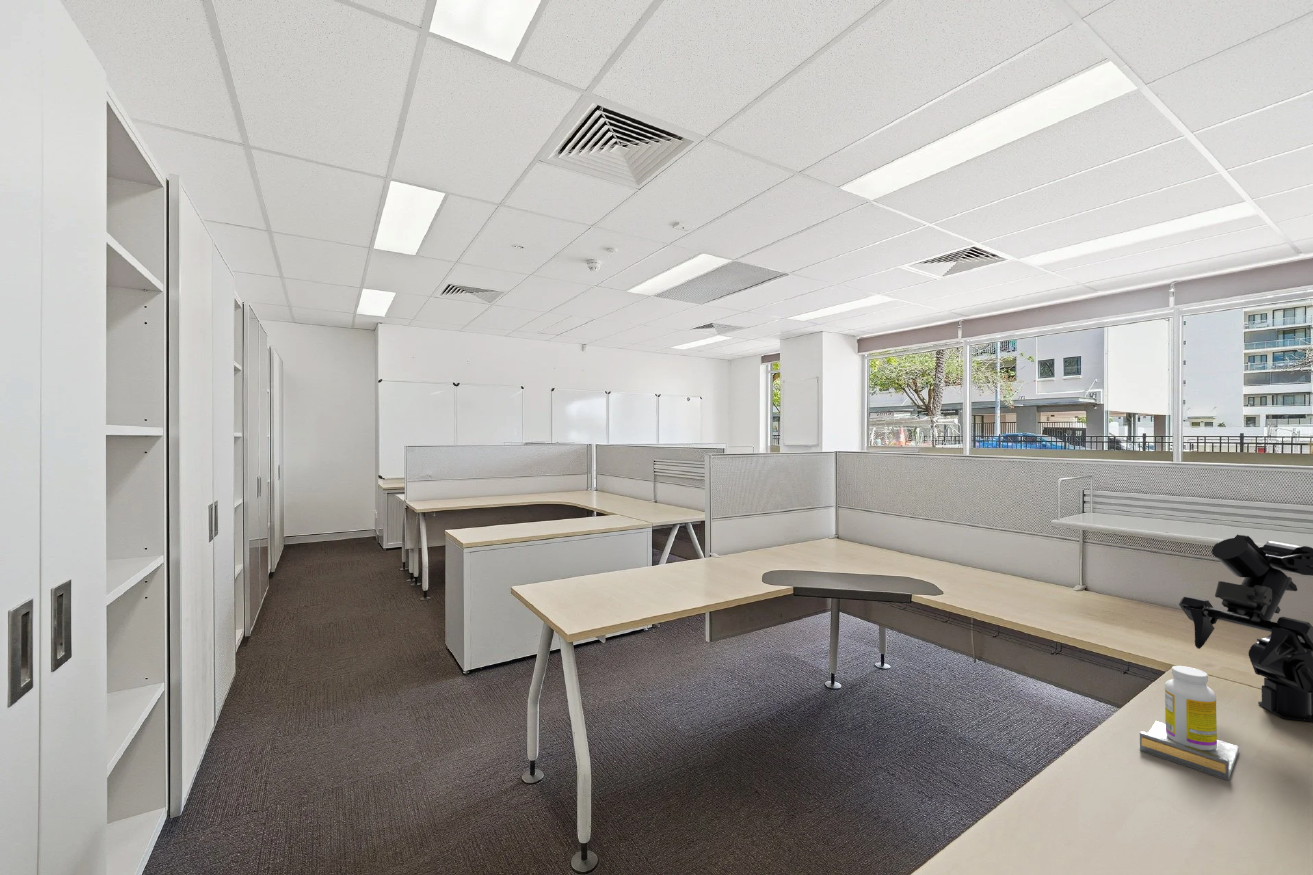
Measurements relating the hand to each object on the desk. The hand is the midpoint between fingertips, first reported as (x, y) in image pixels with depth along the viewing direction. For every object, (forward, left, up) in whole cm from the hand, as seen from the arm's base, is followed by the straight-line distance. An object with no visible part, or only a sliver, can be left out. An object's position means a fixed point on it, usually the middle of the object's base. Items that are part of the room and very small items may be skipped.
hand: (1227, 655), depth 105 cm
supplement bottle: (+12, +11, -13) cm, 20 cm away
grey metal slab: (+12, +12, -14) cm, 22 cm away
